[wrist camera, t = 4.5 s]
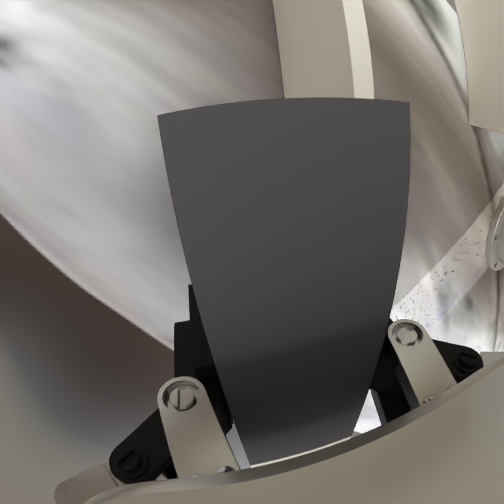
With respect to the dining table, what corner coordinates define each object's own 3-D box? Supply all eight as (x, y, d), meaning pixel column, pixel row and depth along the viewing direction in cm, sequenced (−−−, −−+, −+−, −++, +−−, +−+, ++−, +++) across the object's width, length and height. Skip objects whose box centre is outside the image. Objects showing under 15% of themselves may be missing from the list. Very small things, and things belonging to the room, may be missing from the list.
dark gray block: (304, 103, 8) (409, 102, 4) (308, 387, 15) (340, 460, 10) (176, 117, 8) (157, 115, 3) (238, 404, 14) (257, 483, 10)
